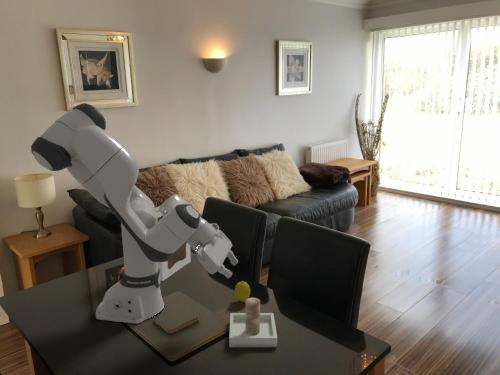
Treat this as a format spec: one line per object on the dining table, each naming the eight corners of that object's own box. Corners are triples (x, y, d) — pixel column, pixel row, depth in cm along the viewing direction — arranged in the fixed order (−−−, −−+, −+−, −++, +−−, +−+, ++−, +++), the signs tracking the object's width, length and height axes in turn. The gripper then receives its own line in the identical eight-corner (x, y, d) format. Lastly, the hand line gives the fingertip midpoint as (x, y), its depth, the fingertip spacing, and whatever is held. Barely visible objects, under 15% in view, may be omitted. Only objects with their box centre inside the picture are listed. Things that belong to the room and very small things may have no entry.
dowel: (245, 334, 124) (245, 304, 122) (245, 326, 128) (245, 297, 126) (259, 334, 124) (260, 304, 122) (259, 326, 128) (259, 297, 126)
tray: (229, 347, 119) (229, 338, 119) (230, 321, 133) (230, 313, 132) (277, 347, 120) (277, 337, 119) (273, 321, 133) (273, 313, 133)
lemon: (248, 306, 143) (248, 285, 141) (233, 304, 144) (233, 283, 142) (251, 299, 148) (251, 278, 146) (236, 297, 149) (236, 277, 147)
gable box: (162, 281, 161) (159, 213, 155) (134, 276, 166) (131, 209, 159) (191, 261, 181) (190, 200, 175) (166, 256, 186) (164, 197, 180)
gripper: (200, 243, 115) (234, 278, 116) (217, 221, 135) (245, 251, 136) (185, 256, 117) (219, 291, 118) (204, 233, 137) (232, 263, 138)
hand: (233, 269), depth 127 cm, fingers open, 8 cm apart
